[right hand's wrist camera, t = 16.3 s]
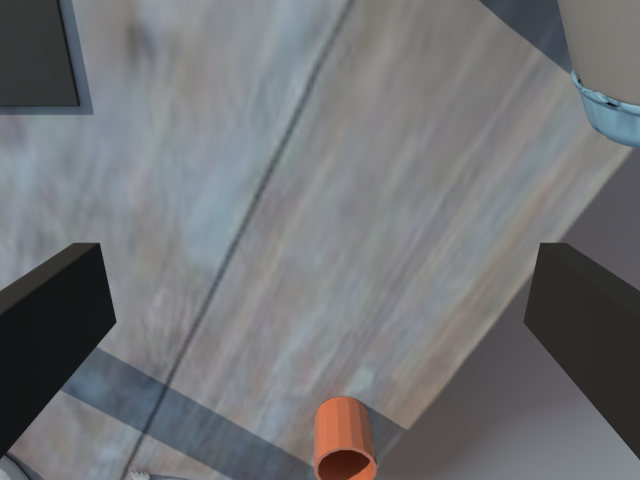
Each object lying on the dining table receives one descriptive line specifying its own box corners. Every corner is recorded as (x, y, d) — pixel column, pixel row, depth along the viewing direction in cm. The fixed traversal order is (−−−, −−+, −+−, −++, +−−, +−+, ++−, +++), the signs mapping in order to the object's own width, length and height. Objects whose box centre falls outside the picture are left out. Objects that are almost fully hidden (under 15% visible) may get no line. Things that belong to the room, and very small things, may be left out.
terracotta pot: (370, 396, 54) (378, 447, 47) (367, 438, 57) (375, 492, 49) (314, 396, 54) (313, 447, 47) (314, 438, 57) (314, 492, 49)
